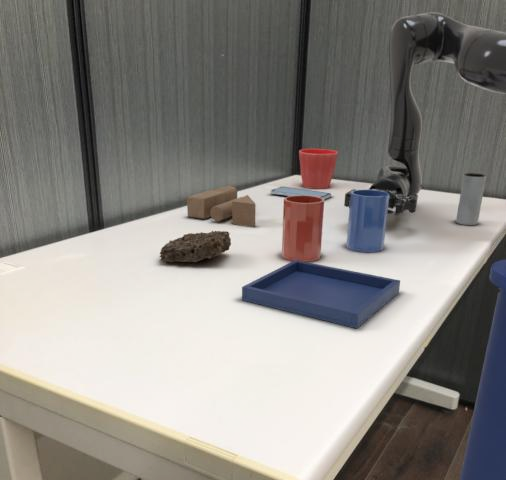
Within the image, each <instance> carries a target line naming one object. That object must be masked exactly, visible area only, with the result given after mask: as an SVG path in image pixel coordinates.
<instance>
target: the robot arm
mask: <svg viewBox="0 0 506 480" xmlns="http://www.w3.org/2000/svg"><path fill="white" fill-rule="evenodd" d="M433 62H444V63H447V64H448V63H449V64H452V65H454V67H455V70H456V73H457V74H458V76H459V77H460V78H461V79H462V81H463V82H465V83H467V84H468V85H471V86H474V87H476V88H479V89H482V90H485V91H487V92H492V93H497V94H502V95H506V32H505V31H500V30H497V29H491V28H485V27H481V26H477V25H469V24H465V23H463V22H460V21H458V20H456V19H454V18H452V17H450V16H448V15H446V14H443V13H441V12H435V11H429V12H422V13H418V14H411V15H408V16H403V17H400V18H397V20H396V21H395V22H394V23H393V25H392V27H391V30H390V34H389V42H388V65H389V66H388V67H389V68H388V69H389V90H390V91H389V92H390V111H391V113H390V127H389V135H388V145H387V154H388V157H389V158H390V159H391V160H393V161H396V162H398V163H401V164H402V166H401V165H394V164H389V165H384V166H383V167H381V169H380V170H379V171H378V175H377V179H376V181H374V182H373V183H372V184H371V185H370V187H369V188H368V190H379V191H384V192H387V193H389V203H388V212H387V215H391V214H393V213H394V215H395V216H400V214H403V213H406V211H408V212H409V213H412V214H413V213H416V210H417V206H418V199H419V195H418V194H419V193H420V191H421V189H422V185H423V176H422V170H421V169H422V168H421V163H420V147H421V146H420V145H421V139H422V132H423V117H422V113H421V111H420V108H419V105H418V104H417V103H418V102H416V99H415V97H414V95H413V91H412V87H411V86H412V85H411V78H412V77H411V76H412V70H413V66H418V65H422V64H423V65H424V64H427V63H433ZM403 165H404V166H403ZM354 190H357V189H355V188H354V189H351V190H349V191H348V192H346V193H345V194H344V205H343V206H344V207H346V208H348V209H350V197H351V191H354Z"/></svg>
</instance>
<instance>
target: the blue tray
mask: <svg viewBox="0 0 506 480" xmlns="http://www.w3.org/2000/svg"><path fill="white" fill-rule="evenodd" d="M400 286H401V280H400V279H395V278H391V277H390V278H389V277H384V276H379V275H374V274H370V273H365V272H358V271H354V270H348V269H343V268H339V267H333V266H328V265H324V264H317V263H313V262H303V261H298V260H294V261H291V262H288V263H287V264H284V265H282V266H281V267H279V268H277V269H274V270H273V271H271V272H269V273H267V274H265V275H263V276H261V277H259V278H256V279H255V280H253V281H251V282H249V283H247V284H245V285H243V286H241V300H242V301H245V302H249V303H251V304H257V305H261V306H264V307H269V308H272V309H277V310H282V311H285V312H289V313H293V314H296V315H301V316H305V317H309V318H313V319H317V320H321V321H326V322H329V323H332V324H333V323H334V324H337V325H342V326H346V327H349V328H352V329H358V328H359V327H360V326H361V325H362V324H364V323H365V322H366V321H367V320H369V319H370V318H371V317H373V316H374V315H375V314H376V313H377V312H378V311H379V310H381V308H383V307H385V305H387V304H388V303H389V302H390V301H391V300H392V299H394V298H395V297H396V296H397V295H398V294H399V293H400Z"/></svg>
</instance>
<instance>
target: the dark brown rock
mask: <svg viewBox="0 0 506 480" xmlns="http://www.w3.org/2000/svg"><path fill="white" fill-rule="evenodd" d="M231 240H232V239H231V237H230V232H229V231H223V230H222V231H221V230H215V231H214V230H212V231H209V232H196V233H191V232H190V233H186V234H184V235H183V236H181V237H178V238H176V239H173V240H169V241H168V242H167V243H166V244H164V245H163V246H162V247H161V249H160V252H159V258H160V261H161V262H164V263H165V262H169V263H174V262H182V263H183V262H185V263H186V262H187V263H197V262H199V261H202V260H203V261H204V260H205V259H209V260H210V259H213V258H215V257H218V256H220V255H221V254H222V253H225V252H228V251H229V250H230V247H231V246H232V241H231Z"/></svg>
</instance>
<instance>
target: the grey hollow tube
mask: <svg viewBox="0 0 506 480" xmlns="http://www.w3.org/2000/svg"><path fill="white" fill-rule="evenodd" d="M486 179H487V175H486V174H484V173H475V172H466V173H464V174H463V177H462V182H461V189H460V194H459V200H458V205H457V212H456V213H457V214H456V219H455V222H456V224H459V225H463V226H477V225H478V223H479V219H480V213H481V207H482V202H483V197H484V190H485V184H486Z"/></svg>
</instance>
